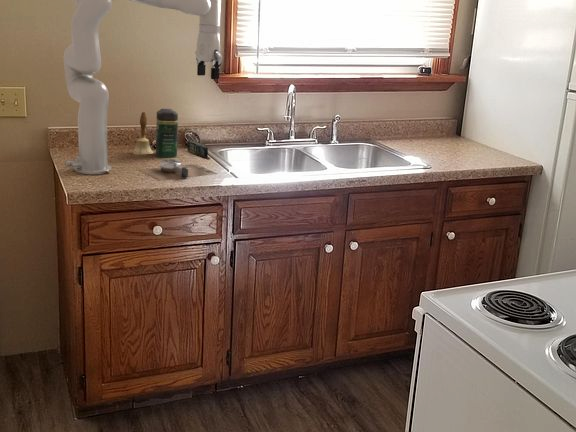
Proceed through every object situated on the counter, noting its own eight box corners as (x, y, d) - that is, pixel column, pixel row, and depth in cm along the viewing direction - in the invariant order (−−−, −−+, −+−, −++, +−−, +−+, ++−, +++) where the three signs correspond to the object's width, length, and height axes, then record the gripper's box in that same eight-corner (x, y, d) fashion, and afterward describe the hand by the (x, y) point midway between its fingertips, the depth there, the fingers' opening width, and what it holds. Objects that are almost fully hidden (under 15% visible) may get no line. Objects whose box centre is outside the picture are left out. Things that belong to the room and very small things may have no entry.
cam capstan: (157, 168, 244) (157, 159, 243) (174, 166, 249) (175, 157, 248) (177, 178, 234) (177, 169, 233) (195, 176, 238) (195, 167, 237)
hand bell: (140, 149, 276) (140, 109, 271) (157, 153, 273) (158, 112, 268) (127, 153, 269) (127, 112, 264) (145, 156, 266) (145, 115, 261)
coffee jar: (178, 160, 263) (179, 112, 258) (157, 160, 261) (157, 111, 255) (175, 154, 272) (176, 107, 266) (155, 154, 270) (155, 106, 264)
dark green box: (186, 140, 277) (205, 147, 266) (192, 139, 279) (212, 146, 268) (186, 152, 279) (205, 160, 267) (192, 151, 281) (211, 159, 269)
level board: (158, 184, 232) (158, 180, 231) (138, 173, 243) (138, 169, 242) (217, 177, 245) (218, 173, 245) (196, 167, 256) (196, 163, 256)
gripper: (188, 27, 258) (187, 74, 264) (213, 31, 245) (211, 80, 251) (206, 27, 263) (204, 73, 268) (231, 32, 250) (229, 80, 255)
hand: (207, 77), depth 259 cm, fingers open, 9 cm apart
